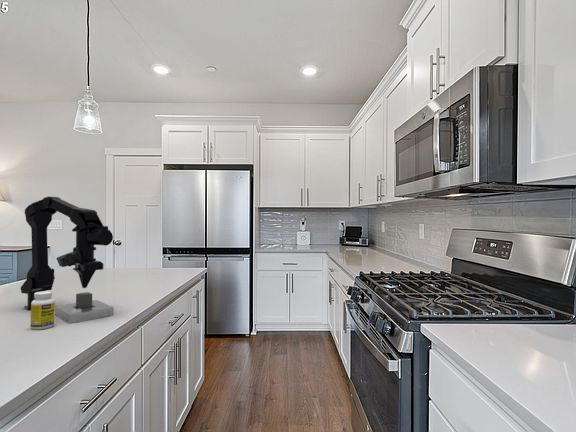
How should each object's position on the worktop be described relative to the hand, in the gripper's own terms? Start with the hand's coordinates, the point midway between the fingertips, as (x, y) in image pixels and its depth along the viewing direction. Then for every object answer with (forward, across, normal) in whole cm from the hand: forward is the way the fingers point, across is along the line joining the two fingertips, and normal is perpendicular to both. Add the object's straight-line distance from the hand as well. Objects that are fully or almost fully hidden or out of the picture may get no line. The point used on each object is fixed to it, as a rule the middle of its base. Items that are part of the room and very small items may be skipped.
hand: (84, 287), depth 127 cm
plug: (+9, 0, 0) cm, 9 cm away
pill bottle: (+10, +6, -14) cm, 18 cm away
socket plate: (+10, 0, 0) cm, 10 cm away
